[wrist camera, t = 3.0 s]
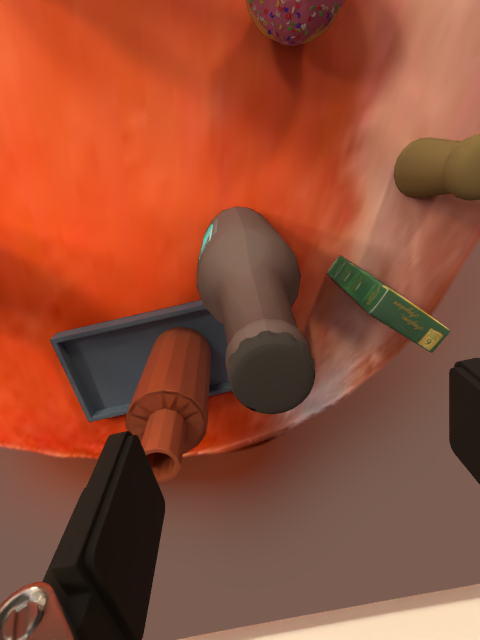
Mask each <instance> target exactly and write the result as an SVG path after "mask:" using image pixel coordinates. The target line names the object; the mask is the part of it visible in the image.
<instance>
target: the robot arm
mask: <svg viewBox="0 0 480 640" xmlns="http://www.w3.org/2000/svg"><path fill="white" fill-rule="evenodd" d="M449 412H450V413H449V431H450V432H449V434H450V435H449V437H450V438H449V440H450V445H451V448H452V450H453V452H454V453H455V455H456V456H457V457H458V458H459V460H460V461H461V462H462V463H463V464H464V466H465V467H466V468H467V469H468V470H469V472H470V473H471V474H472V476H473V477H474V478H475V479H476V480H477V482H478V483H479V484H480V358H473V359H469V360H464V361H459V362H456V363H455V365H454V368H451V369H450V373H449ZM164 514H165V501H164V497H163V495H162V493H161V490H160V488H159V485H158V483H157V480H156V478H155V475H154V473H153V471H152V468H151V466H150V463H149V461H148V459H147V456H146V454H145V451H144V449H143V446H142V444H141V442H140V439H139V437H138V436H137V435H132V433H131V432H130V431H126V432H121V433H117V434H112V435H110V436H109V437H108V439H107V441H106V443H105V445H104V448H103V450H102V452H101V455H100V457H99V459H98V462H97V464H96V466H95V468H94V471H93V473H92V475H91V478H90V480H89V482H88V484H87V487H86V488H85V489H84V490H83V492H82V493H81V496H80V498H79V500H78V503H77V505H76V507H75V509H74V511H73V514H72V516H71V519H70V520H69V523H68V525H67V528H66V530H65V532H64V534H63V536H62V539H61V541H60V543H59V545H58V548H57V550H56V552H55V554H54V557H53V559H52V561H51V564H50V566H49V568H48V570H47V572H46V575H45V577H44V579H43V582H35V583H31V584H29V585H26V586H24V587H22V588H20V589H19V590H17V591H16V592H14V593H13V594H11V596H9V597H8V598H7V599H6V600H5V601H4V602H3V603H2V604H1V605H0V640H142V637H143V634H144V628H145V622H146V617H147V611H148V605H149V599H150V594H151V588H152V582H153V577H154V571H155V565H156V560H157V554H158V548H159V542H160V537H161V531H162V525H163V520H164ZM177 640H480V584H477V585H471V586H466V587H460V588H454V589H448V590H443V591H437V592H432V593H426V594H420V595H415V596H409V597H403V598H398V599H393V600H387V601H381V602H376V603H370V604H365V605H359V606H354V607H348V608H343V609H337V610H332V611H327V612H321V613H315V614H310V615H304V616H299V617H293V618H288V619H283V620H277V621H272V622H267V623H261V624H256V625H251V626H245V627H241V628H235V629H230V630H225V631H219V632H213V633H208V634H203V635H198V636H192V637H187V638H182V639H177Z"/></svg>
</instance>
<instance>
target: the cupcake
mask: <svg viewBox="0 0 480 640" xmlns="http://www.w3.org/2000/svg"><path fill="white" fill-rule="evenodd" d="M344 1H345V0H246V4H247V8H248V11H249V14H250V16H251V18H252V20H253V21H254V23H255V24H256V26H257V27H258V29H259V30H260V32H261V33H262V34H263V35H264V36H266V37H268V38H270V39H272V40H275V41H277V42H278V43H280V44H282V45H289V46H296V45H300V44H303V43H308V42H311V41H312V40H314V39H315V38H317V37H318V36H319V35H321V34H322V33H324V32H325V31H326V30H327V29H328V28H329V27H330V26H331V24H332V23H333V21H334V20H335V18H336V16H337V13H338V11H339V10H340V9H341V7H342V6H343V4H344Z"/></svg>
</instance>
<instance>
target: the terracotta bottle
mask: <svg viewBox="0 0 480 640" xmlns="http://www.w3.org/2000/svg"><path fill="white" fill-rule="evenodd" d="M210 365H211V350H210V346H209V343H208V342H207V340H206V339H205V337H204V336H203V335H202V334H200V333H199V332H198V331H196V330H194V329H191V328H187V327H174V328H171V329H168V330H166V331H164V332H163V333H162V334H161V335H160V336H159V337H158V338H157V339H156V341H155V343H154V345H153V347H152V350H151V352H150V355H149V357H148V360H147V362H146V365H145V368H144V370H143V373H142V375H141V378H140V380H139V383H138V386H137V388H136V391H135V393H134V396H133V398H132V401H131V404H130V406H129V409H128V411H127V415H126V428H127V431H130V432H131V433H132V435H137V436H138V437H139V439H140V442H141V444H142V446H143V449H144V451H145V454H146V456H147V459H148V461H149V463H150V466H151V468H152V471H153V473H154V475H155V478H156V480H157V483H161V482H165V481H170V480H171V479H173V478H174V477H175V476H176V475H178V472H179V469H180V466H181V459H182V454H183V453H186V452H188V451H190V450H191V449H193V448H194V447H196V446H197V445H198V444H199V443H200V441H201V440H202V439H203V437H204V436H205V434H206V428H207V421H208V402H209V384H210Z"/></svg>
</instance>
